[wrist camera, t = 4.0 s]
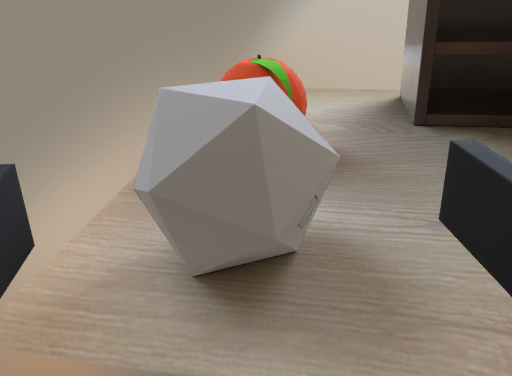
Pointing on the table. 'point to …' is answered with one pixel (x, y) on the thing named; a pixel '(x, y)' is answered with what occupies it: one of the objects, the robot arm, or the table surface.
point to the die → (232, 172)
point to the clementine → (276, 71)
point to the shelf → (458, 63)
